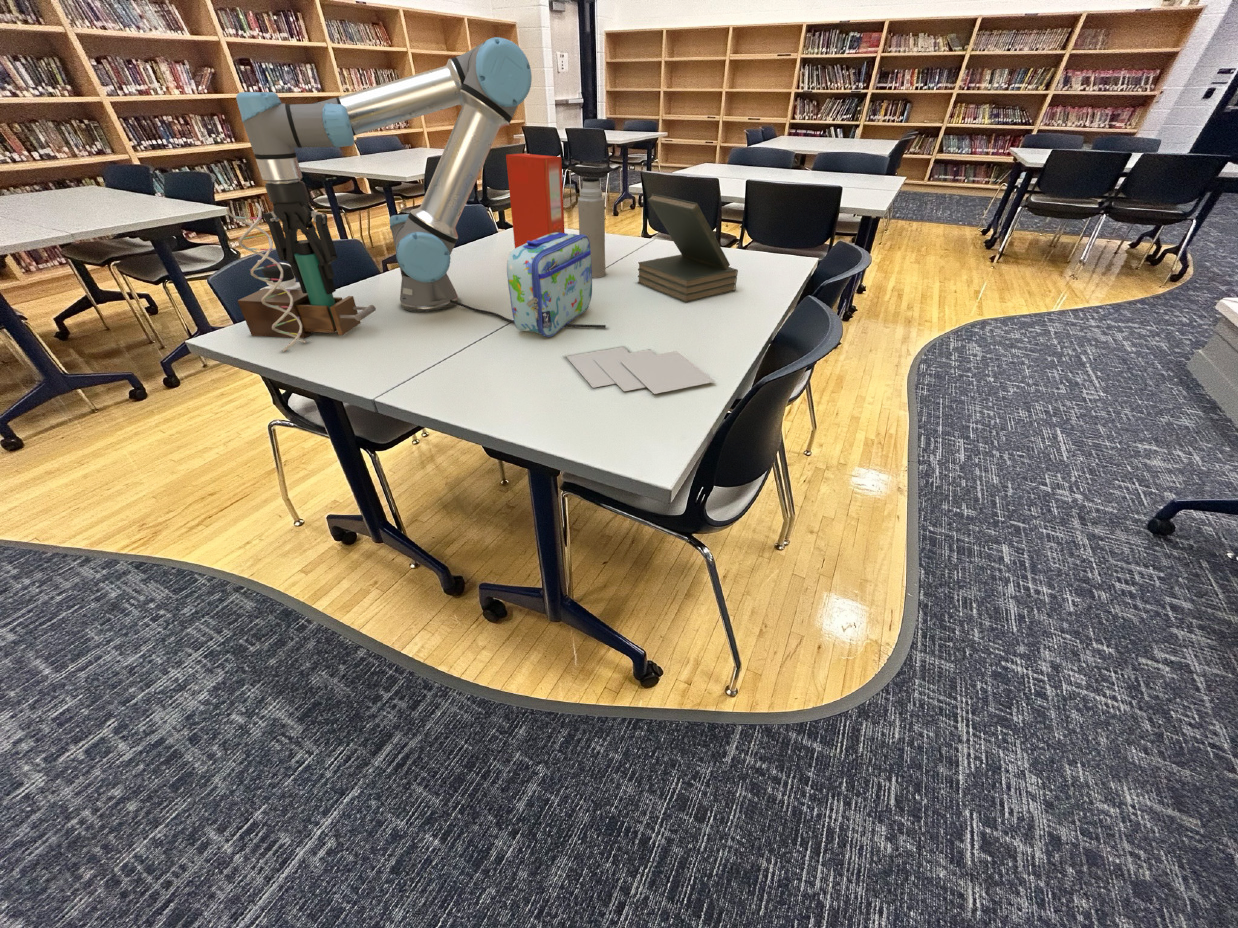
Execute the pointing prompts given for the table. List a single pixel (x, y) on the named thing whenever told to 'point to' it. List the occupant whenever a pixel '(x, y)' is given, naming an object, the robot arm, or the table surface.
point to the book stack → (687, 255)
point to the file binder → (535, 196)
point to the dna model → (269, 278)
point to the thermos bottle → (593, 222)
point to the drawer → (342, 312)
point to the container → (275, 273)
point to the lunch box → (550, 282)
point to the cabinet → (272, 313)
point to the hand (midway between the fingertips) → (319, 292)
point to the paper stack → (639, 370)
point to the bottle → (312, 275)
